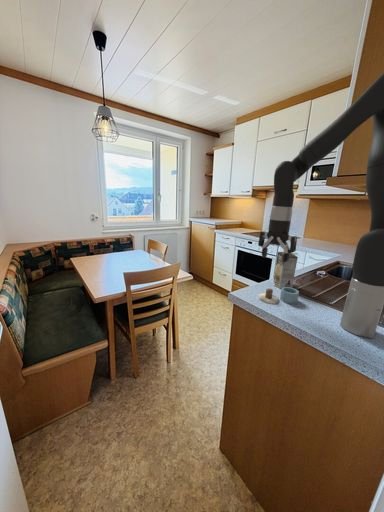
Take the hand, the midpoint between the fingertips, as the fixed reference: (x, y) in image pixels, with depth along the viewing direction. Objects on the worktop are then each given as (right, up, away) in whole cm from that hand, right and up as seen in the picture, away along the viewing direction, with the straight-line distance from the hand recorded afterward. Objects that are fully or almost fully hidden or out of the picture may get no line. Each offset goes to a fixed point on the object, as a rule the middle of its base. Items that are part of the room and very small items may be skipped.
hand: (274, 259), depth 85 cm
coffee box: (+12, -13, +20) cm, 27 cm away
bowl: (+8, -17, +4) cm, 19 cm away
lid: (-1, -17, +5) cm, 18 cm away
